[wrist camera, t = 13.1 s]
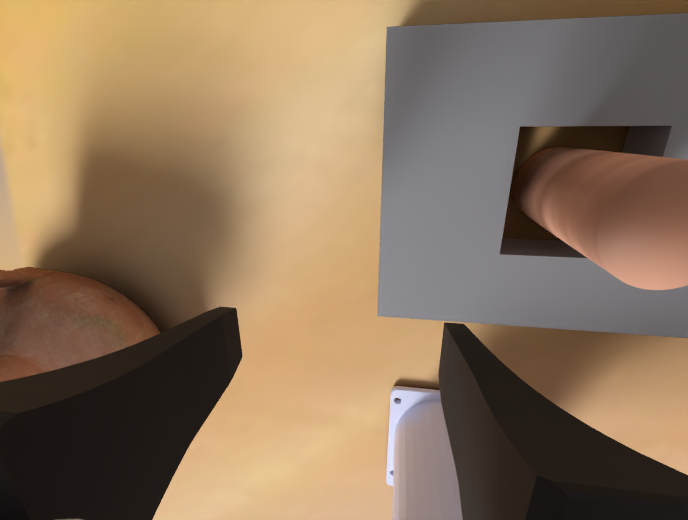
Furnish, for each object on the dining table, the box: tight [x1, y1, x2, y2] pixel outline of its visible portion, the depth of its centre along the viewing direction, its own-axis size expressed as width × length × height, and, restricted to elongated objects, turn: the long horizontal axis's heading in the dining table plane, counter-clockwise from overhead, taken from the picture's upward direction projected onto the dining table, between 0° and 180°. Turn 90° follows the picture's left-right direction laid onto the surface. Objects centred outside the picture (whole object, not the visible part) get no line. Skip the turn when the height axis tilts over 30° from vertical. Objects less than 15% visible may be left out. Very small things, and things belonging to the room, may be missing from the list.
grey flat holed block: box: [377, 13, 688, 338], centre depth 17 cm, size 14×18×3 cm
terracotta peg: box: [513, 147, 688, 290], centre depth 15 cm, size 4×4×9 cm
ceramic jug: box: [0, 267, 160, 382], centre depth 21 cm, size 18×14×14 cm
